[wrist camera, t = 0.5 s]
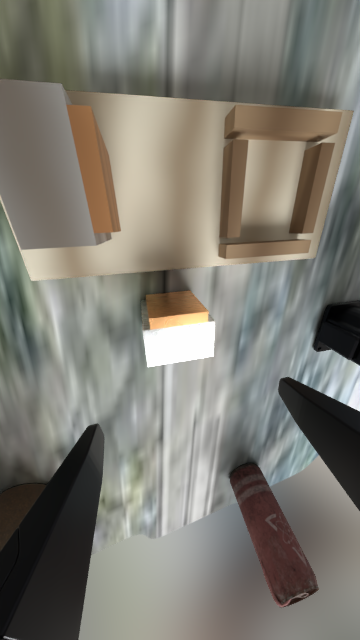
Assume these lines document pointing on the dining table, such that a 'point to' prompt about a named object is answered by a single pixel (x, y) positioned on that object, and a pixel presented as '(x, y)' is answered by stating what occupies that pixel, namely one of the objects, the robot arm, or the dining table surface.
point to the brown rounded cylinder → (272, 538)
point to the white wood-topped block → (176, 328)
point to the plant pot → (16, 507)
